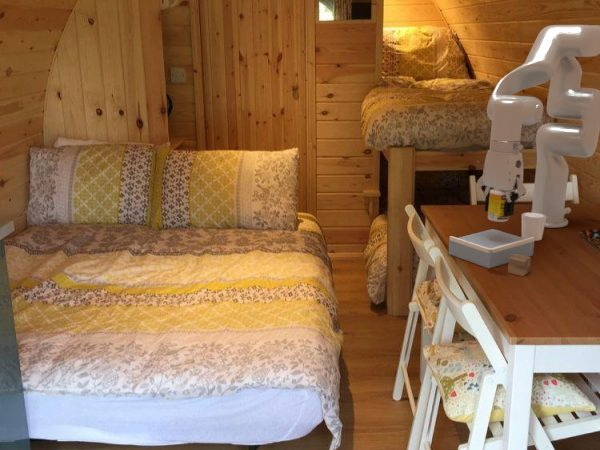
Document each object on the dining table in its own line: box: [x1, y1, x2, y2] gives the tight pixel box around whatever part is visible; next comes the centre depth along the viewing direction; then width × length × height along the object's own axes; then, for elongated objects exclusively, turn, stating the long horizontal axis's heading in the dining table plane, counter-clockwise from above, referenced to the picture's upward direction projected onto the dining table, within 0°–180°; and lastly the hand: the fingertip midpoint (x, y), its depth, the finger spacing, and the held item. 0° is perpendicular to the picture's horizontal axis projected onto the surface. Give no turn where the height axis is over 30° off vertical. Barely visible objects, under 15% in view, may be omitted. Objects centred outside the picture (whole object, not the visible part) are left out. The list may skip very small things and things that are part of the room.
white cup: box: [521, 211, 546, 242], centre depth 189 cm, size 7×7×7 cm
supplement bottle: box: [487, 187, 511, 223], centre depth 173 cm, size 6×6×10 cm
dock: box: [448, 228, 535, 269], centre depth 175 cm, size 18×14×5 cm
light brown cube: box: [507, 254, 532, 277], centre depth 162 cm, size 4×4×4 cm
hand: (498, 212), depth 174 cm, fingers closed on supplement bottle, 5 cm apart
